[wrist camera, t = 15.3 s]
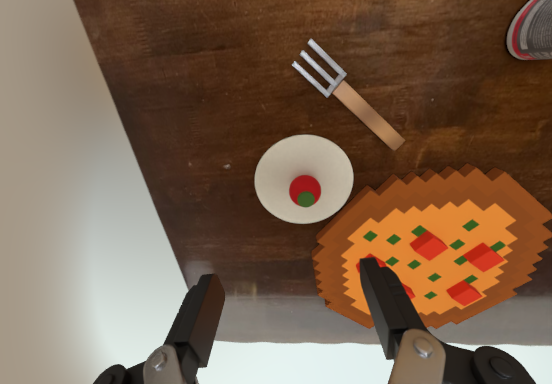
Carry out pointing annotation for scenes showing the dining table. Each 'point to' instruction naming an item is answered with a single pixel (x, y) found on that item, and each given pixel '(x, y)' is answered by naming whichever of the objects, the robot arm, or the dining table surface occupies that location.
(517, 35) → the pill bottle
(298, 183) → the strawberry
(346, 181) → the plate
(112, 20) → the dining table surface
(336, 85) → the fork
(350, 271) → the pizza
